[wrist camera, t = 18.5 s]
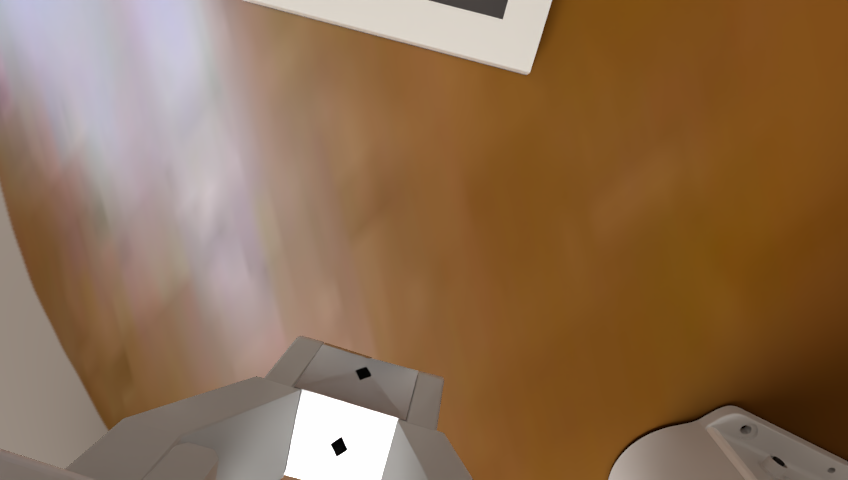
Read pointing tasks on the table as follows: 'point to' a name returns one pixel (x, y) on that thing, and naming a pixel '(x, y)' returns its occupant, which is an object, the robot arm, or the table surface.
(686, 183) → the table surface
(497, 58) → the socket board
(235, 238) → the table surface
